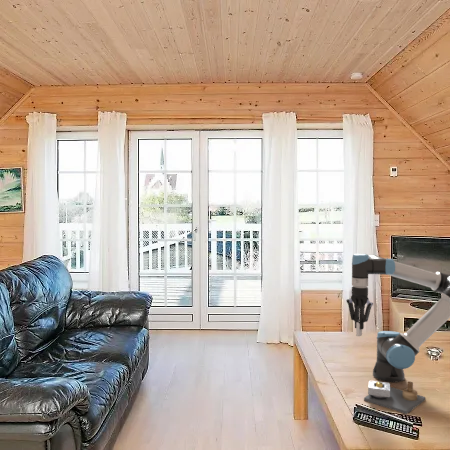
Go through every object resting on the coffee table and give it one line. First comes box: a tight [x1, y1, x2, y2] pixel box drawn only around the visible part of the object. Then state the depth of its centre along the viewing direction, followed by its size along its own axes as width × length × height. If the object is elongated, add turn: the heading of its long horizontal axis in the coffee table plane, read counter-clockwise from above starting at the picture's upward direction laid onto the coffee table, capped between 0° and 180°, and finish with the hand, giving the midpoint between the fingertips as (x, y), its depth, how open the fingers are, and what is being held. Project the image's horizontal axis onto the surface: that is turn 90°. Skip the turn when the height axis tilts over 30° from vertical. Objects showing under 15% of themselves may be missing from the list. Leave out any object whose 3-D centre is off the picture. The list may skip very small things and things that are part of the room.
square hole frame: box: [367, 380, 391, 397], centre depth 203 cm, size 9×9×3 cm
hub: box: [371, 381, 387, 400], centre depth 203 cm, size 7×7×6 cm
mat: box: [363, 386, 426, 415], centre depth 202 cm, size 20×19×1 cm
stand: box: [402, 381, 418, 401], centre depth 201 cm, size 6×6×7 cm
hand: (359, 335), depth 217 cm, fingers closed
